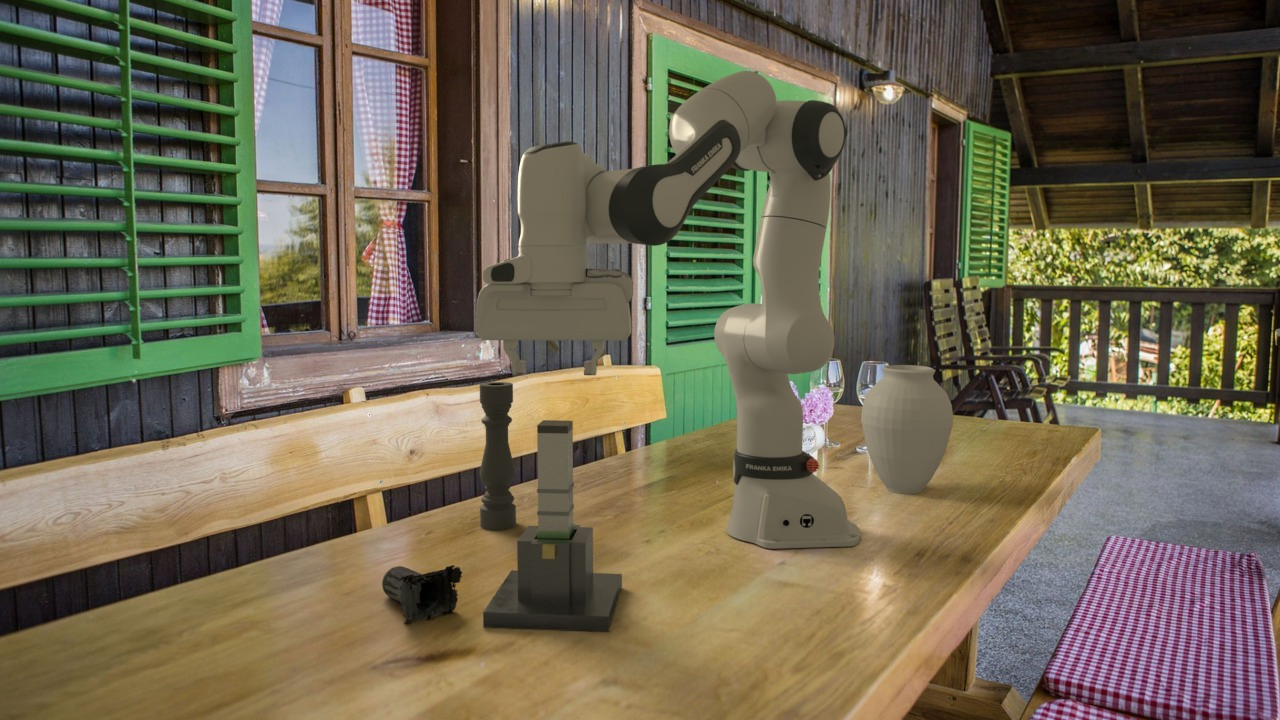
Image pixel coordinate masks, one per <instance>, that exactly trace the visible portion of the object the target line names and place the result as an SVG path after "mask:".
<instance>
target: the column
mask: <svg viewBox="0 0 1280 720" xmlns="http://www.w3.org/2000/svg"><path fill="white" fill-rule="evenodd" d="M573 422H574V421H573V420H560V419H559V420H557V419H556V420H555V419H554V420H551V419H550V420H549V419H542V421H541V422H539V423H538V424H537V425H536V426H537V429H536V430H537V431H536V432H537V434H536V435H537V446H536V447H537V489H536V493H537V512H536V515H537V520H538V522H537V526H538V531H537V539H547V540H572V538H573V533H574V532H575V530H574V525H575V522H574V508H575V504H574V487H575V485H574V484H575V482H574V458H573V457H574V450H573V449H574V447H573V446H574V440H573V439H574V438H573V436H574V435H573V433H574V432H573V431H574V430H573V429H574V427H573V426H574V425H573V424H574V423H573Z"/></svg>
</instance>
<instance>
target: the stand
mask: <svg viewBox="0 0 1280 720" xmlns="http://www.w3.org/2000/svg"><path fill="white" fill-rule="evenodd" d="M574 530H575V532H574V533H573V538H572V540H547V539H537V531H538V525H527V527H526V528H525V530H524V531H523V533H522V534H521V535H520V536H519V538H518V539H517V541H516V543H517V544H516V548H517V550H516V554H517V557H516V558H517V561H516V562H517V570H513V569H512V570H510V572H509V573H508V575H507V576H506V578H505V579H504V581H503V582H502V583H501V585H500V586H499V588H498V589H497V591H496V592H495V594H494V595H493V596H492V598H491V600H490V601H489V602H488V604H487V606H486V607H485V608H484V610H483V612H482V615H483V616H482V620H483V621H482V622H483V623H482V625H483V626H482V627H483V628H492V629H493V628H497V629H498V628H499V629H518V630H519V629H524V630H525V629H526V630H546V631H547V630H550V631H573V632H574V631H576V632H577V631H578V632H581V631H582V632H598V633H599V632H601V633H602V632H603V633H604V632H605V633H608V632H609V631H610V627H611V623H612V621H613V618H614V614H615V611H616V607H617V605H618V601H619V598H620V594H621V592H622V588H623V574H622V573H609V572H608V573H605V572H604V573H603V572H602V573H601V572H599V573H598V572H594V527H587V526H586V527H585V526H584V527H583V526H581V524H574Z"/></svg>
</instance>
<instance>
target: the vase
mask: <svg viewBox="0 0 1280 720" xmlns="http://www.w3.org/2000/svg"><path fill="white" fill-rule="evenodd" d="M880 370H881V371H882V373H883V374H882V375H883V376H882V378H881V379H880V380H878V381H877V382H876V383H875V384H874V385H873V386H871V388H869V390H868V391H867V394H866V396H865V397H864V399H863V402H862V403H863V404H862V407H861V414H860V415H861V417H860V418H861V419H860V421H861V426H862V431H863V437H864V441H865V445H866V449H867V453H868V456H869V459H870V460H871V463H872V465H873V467H874V470H875V472H876V474H877V476H878V477H879V480H880V481H881V482H882V484H883V485H884V486H885V489H886V491H888V492H891V493H896V494H901V495H902V494H903V495H914V494H917V495H918V494H921V493H922V492H923V490H924V488H926V487H927V485H928V484H929V483H930V482H931V480H932V479H933V477H934V475H935V474H936V472H937V470H938V469H939V467H940V464H941V462H942V461H943V459H944V457H945V453H946V450H947V447H948V445H949V444H948V443H949V441H950V436H951V433H952V428H953V427H954V425H953V424H954V412H953V406H952V402H951V400H950V397H949V395H948V393H947V392H946V391H945V390H944V388H943V387H941V386H940V384H939V383H938V382H937V381H936V380H935V379H934V375H935V372H936V371H937V370H936V369H934V368H933V367H930V366H926V365H925V366H924V365H915V364H913V365H910V364H893V365H892V364H891V365H885V366H883V367H880Z"/></svg>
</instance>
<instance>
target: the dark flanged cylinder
mask: <svg viewBox="0 0 1280 720" xmlns="http://www.w3.org/2000/svg"><path fill="white" fill-rule="evenodd" d="M462 574H463V571H462V570H461V567H459V565H458V566H455V564H452V565H449V566H446V567H445V568H444V569H440V570H435V571H433V570H432V571H430V572H427V573H423V574H422V573H420V572H418V571H414V570H412V569H410V568H407V567H405V566H402V565H401V566H400V565H398V566H394V567H391V568H390V569H389V570H387V571H386V572H385V573H384V575H383V578H382V582H381V586H382V590H383V592H384V594H385V595H386V596H387V597H389V598H391V599H393V600H395V601H396V602H399V603H400V605H401V606H400V607H401V613H403V617H404V618H405V621H404V622H403V624H408V623H409V624H411V622H412V623H413V622H416V621H422V620H425V619H426V621H430V620H435V618H434V617H435V616H439V615H441V616H446V615H447V614H450V615H452V614H454V611H456V608H457V602H458V596H459V595H458V590H457V589H456V587H457V584H459V583H461V578H463V576H462Z"/></svg>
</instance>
